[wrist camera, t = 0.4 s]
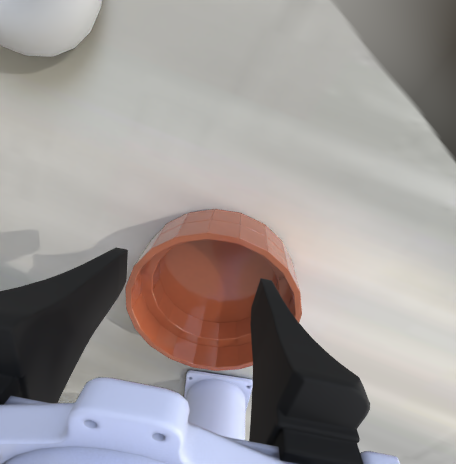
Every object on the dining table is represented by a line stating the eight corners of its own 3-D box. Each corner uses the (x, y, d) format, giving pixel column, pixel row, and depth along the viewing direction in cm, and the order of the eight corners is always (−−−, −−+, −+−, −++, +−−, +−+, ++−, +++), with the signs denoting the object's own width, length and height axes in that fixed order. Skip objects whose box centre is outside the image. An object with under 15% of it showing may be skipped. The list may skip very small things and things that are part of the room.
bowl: (274, 337, 30) (279, 380, 25) (146, 318, 30) (128, 357, 25) (309, 220, 23) (324, 250, 19) (146, 195, 23) (122, 219, 19)
